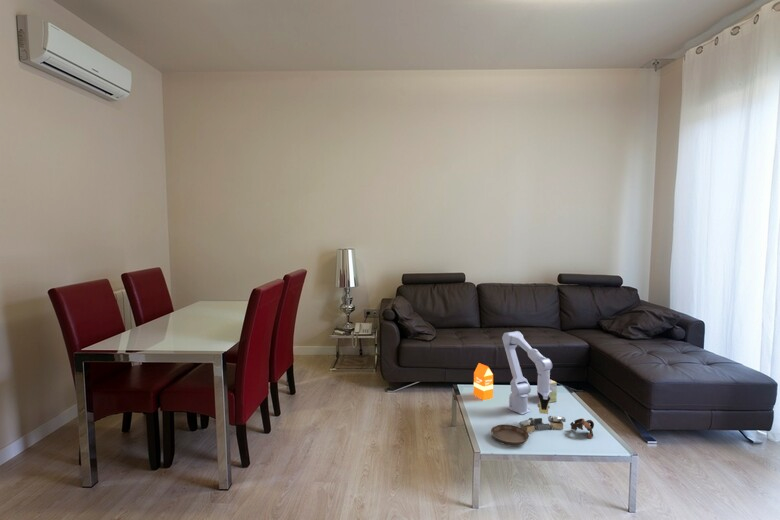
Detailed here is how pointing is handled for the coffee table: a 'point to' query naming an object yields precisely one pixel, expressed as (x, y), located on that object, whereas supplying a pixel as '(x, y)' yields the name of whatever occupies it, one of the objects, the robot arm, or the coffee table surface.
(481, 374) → the orange juice
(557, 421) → the shaft
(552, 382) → the box
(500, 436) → the plant saucer
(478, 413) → the coffee table surface
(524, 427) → the shaft
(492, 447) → the coffee table surface
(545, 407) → the robot arm
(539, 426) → the cradle
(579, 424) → the pottery mug
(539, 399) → the block
